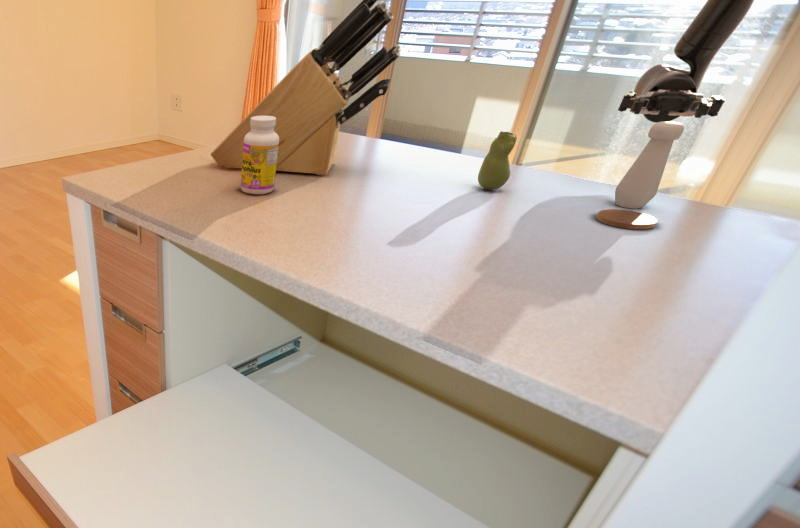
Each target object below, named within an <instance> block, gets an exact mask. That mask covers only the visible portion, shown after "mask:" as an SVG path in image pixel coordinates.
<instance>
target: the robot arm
mask: <svg viewBox="0 0 800 528" xmlns="http://www.w3.org/2000/svg"><path fill="white" fill-rule="evenodd" d="M754 1H755V0H707V1H706V2H705V4H704V5H703V6H702V8H701V9H700V11H698V14H697V15H696V16H695V17H694V18H693V20H692V21H691V23H690V24H689V26H688V27H687V28H686V30H685V31H684V33H683V34H682V35H681V37H680V38H679V39H678V41H677V42H676V45H675V46H674V49H673V53H674V55H675V56H676V57H677V58H678V59H679V60H681V61H682V62H684V63H685V64H687V65H688V66H689V69H690V70H689V69H684V68H680V67H678V66H673V65H670V64H665V63H659V64H655V65H653V66H651V67H649V68H648V69H647V70H646V71H645V72H644V73H643V74H642V75H641V76H640V78H639V79H638V81H637V82H636V84H635V86H634V89H633V90H629V91H626V93H625V94H624V95H623V97H622V100H621V101H620V103H619V106H618V109H617V111H619V112H621V113H622V112H626V111H627V110H628V109H629V112H631V113H632V114H633V115H642V116H643V117H644V118H645V119H646V120H648V121H649V122H652V123H654V124H655V123H657V122H662V121H671V122H672V121H674V120H676V119H678V118H679V117H684V118H685V117H686V118H687V117H693V116H694V118H696V119H701V118H702V117H704V116H709V117H711V118H712V117H718V115H719V113H720V111H721V110H722V107H723V105H724V104H725V102H726V98H724V97H723V96H722V95H719V94H715V95H712V96H711V95H710V96H709V97H704V94H703V93H698V90H699V88H700V86H701V83H702V80H703V78H704V77H705V75H706V72H707V70H708V68H709V66H710V65H711V63H712V61H713V59H714V58H715V57H716V55H717V53H719V51H720V49H721V48H722V47H723V45H725V43H726V42H727V41H728V39H729V38H730V37H731V35H732V34H733V33H734V32H735V30H736V29H737V28H738V27H739V25H740V24H741V23H742V21H743V20H744V19H745V18H746V16H747V14H748V13H749V10H751V7H752V5H753V3H754Z"/></svg>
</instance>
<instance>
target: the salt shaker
mask: <svg viewBox="0 0 800 528" xmlns="http://www.w3.org/2000/svg"><path fill="white" fill-rule="evenodd" d="M684 130H685V126H684V124H683V123H681V122H678V121H672V120H671V121H662V122H657V123H655V122H654V124H652V126H651V127H650V129H649V131H648V134H647V136H648V138H649V141H648V142H647V144H646V145H645V147H644V148H643V149H642V151H641V152H640V153H639V155H638V156H637V158H636V160H634V161H633V164H631V166H630V167H629V168H628V170H627V172H626V173H625V174H624V175H623V177H622V179H621V180H620V181H619V183H618V184H617V185H616V187H615V190H614V205H616V206H619V207H621V208H626V209H636V210H637V209H642V208H644V207H645V206H646V205H648V203H649V202H650V201H651V200H653V199H654V198H655V196H657V193H658V191H659V187H660V184H661V181H662V178H663V175H664V172H665V168H666V165H667V162H668V160H669V157H670V153H671V150H672V147H673V144H674V141H676V140H679V139H680V138H681V137H682V135H683V133H684Z"/></svg>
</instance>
